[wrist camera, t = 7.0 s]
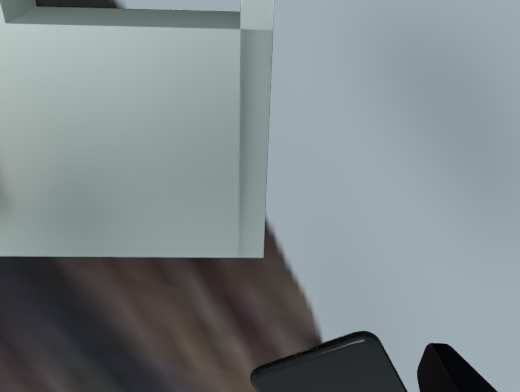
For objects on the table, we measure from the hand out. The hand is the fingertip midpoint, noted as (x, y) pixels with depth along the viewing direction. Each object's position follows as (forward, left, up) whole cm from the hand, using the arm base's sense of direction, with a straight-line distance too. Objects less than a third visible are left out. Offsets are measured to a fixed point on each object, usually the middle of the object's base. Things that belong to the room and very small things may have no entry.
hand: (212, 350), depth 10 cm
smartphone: (-20, -8, -11) cm, 25 cm away
